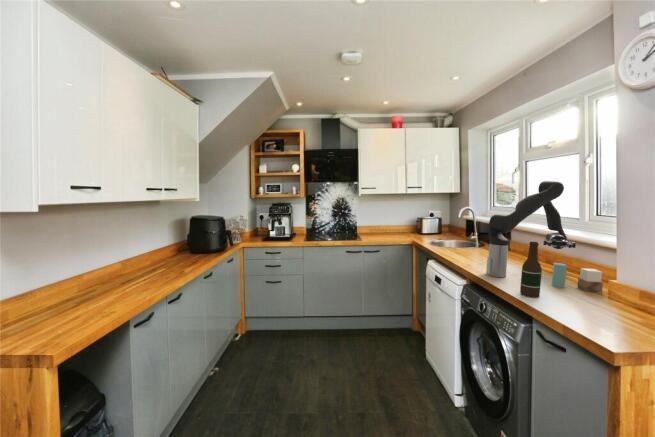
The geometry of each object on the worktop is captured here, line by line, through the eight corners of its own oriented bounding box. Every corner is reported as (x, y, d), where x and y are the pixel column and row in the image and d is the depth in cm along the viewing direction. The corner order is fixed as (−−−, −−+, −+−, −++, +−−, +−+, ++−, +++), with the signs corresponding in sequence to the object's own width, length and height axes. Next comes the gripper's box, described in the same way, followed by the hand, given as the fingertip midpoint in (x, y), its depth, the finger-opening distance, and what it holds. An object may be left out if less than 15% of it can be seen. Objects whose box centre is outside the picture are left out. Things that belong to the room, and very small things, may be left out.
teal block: (552, 286, 169) (554, 264, 168) (551, 283, 173) (553, 262, 173) (564, 287, 167) (566, 265, 166) (563, 285, 171) (565, 263, 170)
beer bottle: (543, 298, 148) (548, 243, 146) (525, 297, 149) (530, 243, 146) (533, 292, 156) (537, 241, 154) (516, 292, 156) (520, 240, 154)
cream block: (586, 281, 161) (587, 270, 161) (579, 278, 167) (580, 268, 167) (601, 282, 160) (602, 271, 160) (593, 279, 166) (594, 268, 166)
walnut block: (585, 291, 161) (586, 281, 161) (577, 287, 168) (578, 277, 168) (601, 293, 160) (602, 282, 160) (593, 288, 167) (594, 278, 166)
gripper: (543, 233, 195) (544, 236, 181) (574, 236, 188) (577, 239, 174) (542, 246, 196) (543, 250, 182) (572, 249, 189) (576, 254, 175)
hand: (559, 245), depth 178 cm, fingers open, 8 cm apart
